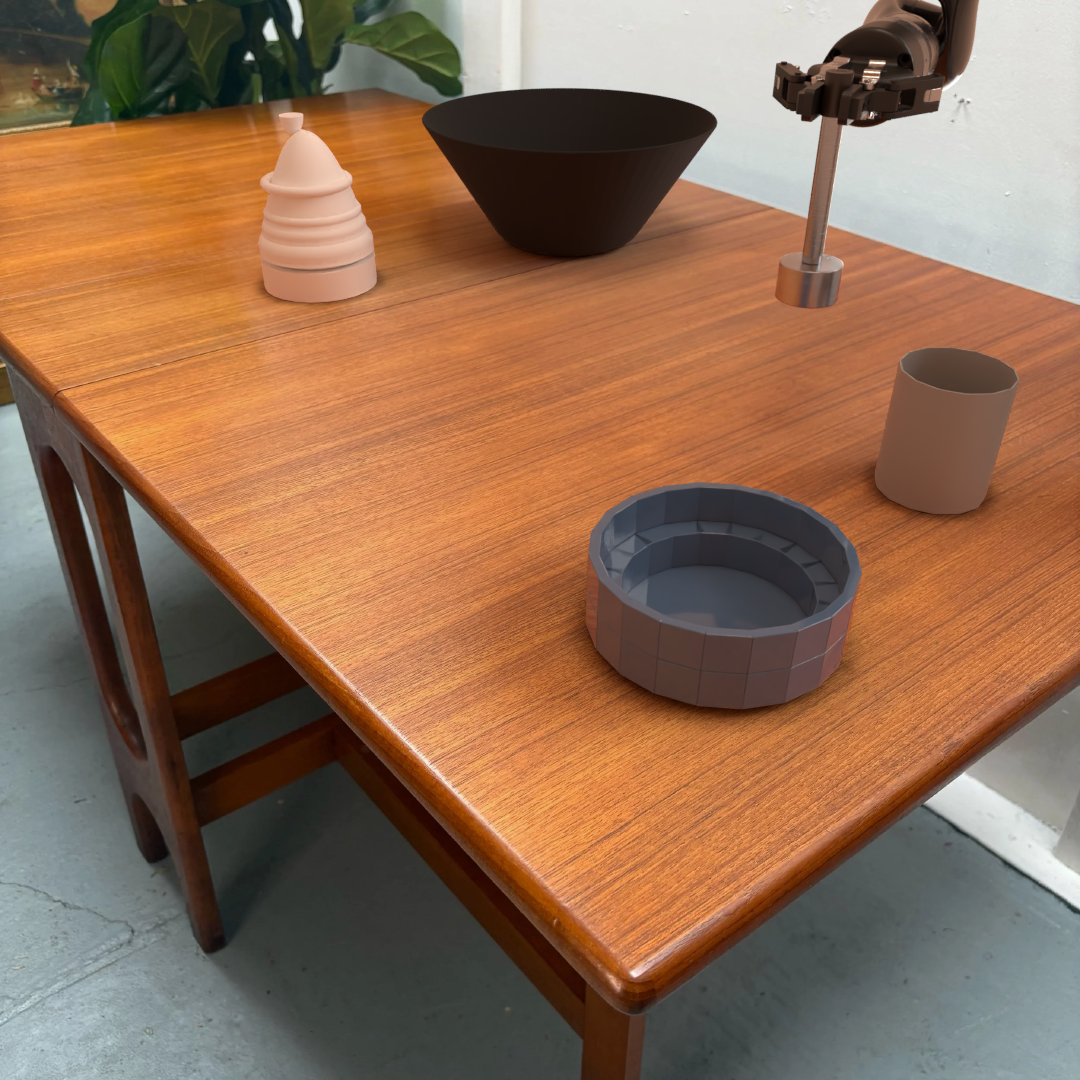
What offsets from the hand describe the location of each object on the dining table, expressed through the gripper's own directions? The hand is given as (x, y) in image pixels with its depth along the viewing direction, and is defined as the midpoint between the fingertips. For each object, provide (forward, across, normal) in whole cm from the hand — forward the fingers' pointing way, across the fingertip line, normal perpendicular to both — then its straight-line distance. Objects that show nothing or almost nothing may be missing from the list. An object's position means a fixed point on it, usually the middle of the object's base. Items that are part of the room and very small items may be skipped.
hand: (826, 108), depth 72 cm
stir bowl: (+27, +4, +26) cm, 38 cm away
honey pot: (-12, -58, +26) cm, 65 cm away
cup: (+2, +13, +27) cm, 30 cm away
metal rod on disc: (-3, 0, +15) cm, 15 cm away
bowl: (-40, -40, +26) cm, 62 cm away
